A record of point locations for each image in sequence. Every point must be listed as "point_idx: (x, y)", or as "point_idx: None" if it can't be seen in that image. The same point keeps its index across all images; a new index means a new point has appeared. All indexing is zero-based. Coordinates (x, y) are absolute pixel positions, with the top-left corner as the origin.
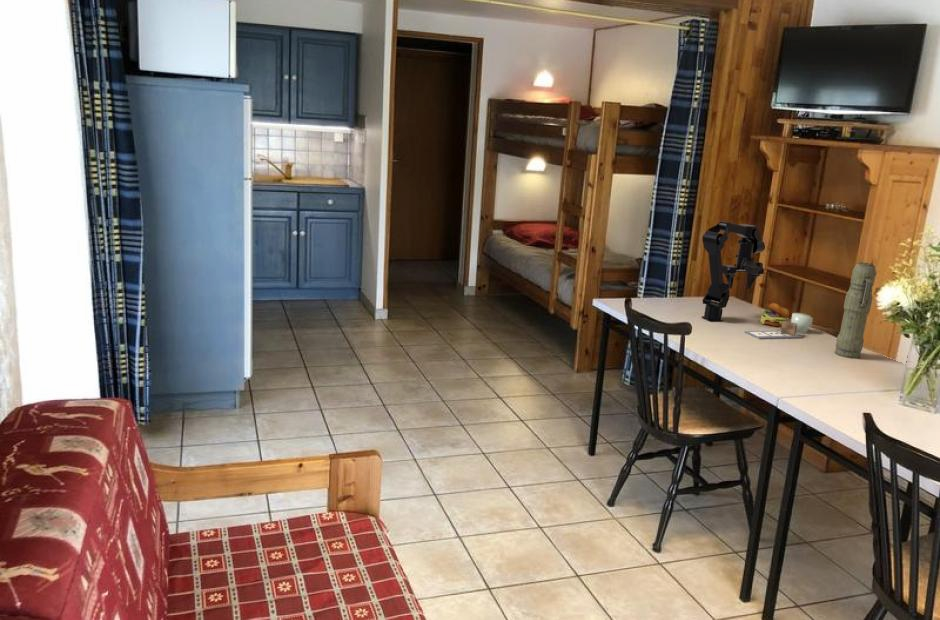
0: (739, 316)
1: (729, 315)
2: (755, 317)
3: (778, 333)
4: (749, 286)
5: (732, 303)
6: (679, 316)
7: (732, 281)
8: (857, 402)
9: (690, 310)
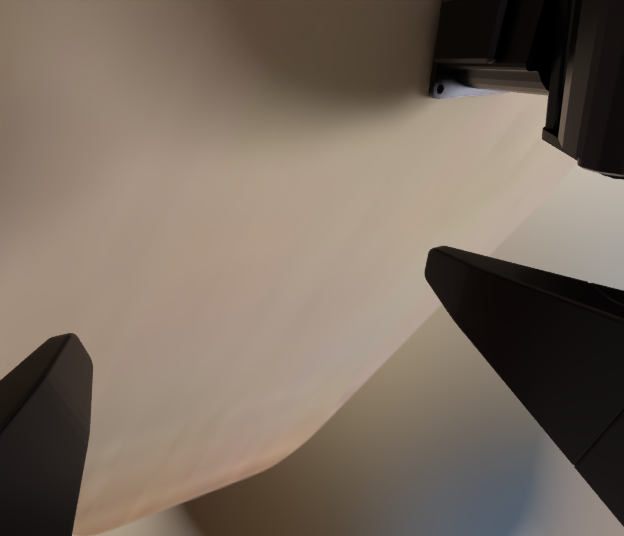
0: (189, 145)
1: (267, 170)
2: (7, 116)
3: None
4: (43, 369)
5: (90, 456)
6: None
7: (582, 297)
8: None
9: None
